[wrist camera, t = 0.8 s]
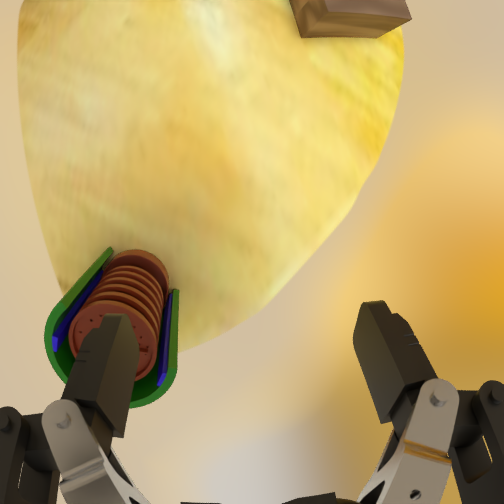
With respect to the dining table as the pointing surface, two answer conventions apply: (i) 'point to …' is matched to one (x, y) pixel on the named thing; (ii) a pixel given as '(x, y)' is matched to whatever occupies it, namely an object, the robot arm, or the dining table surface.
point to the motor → (121, 302)
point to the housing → (348, 17)
